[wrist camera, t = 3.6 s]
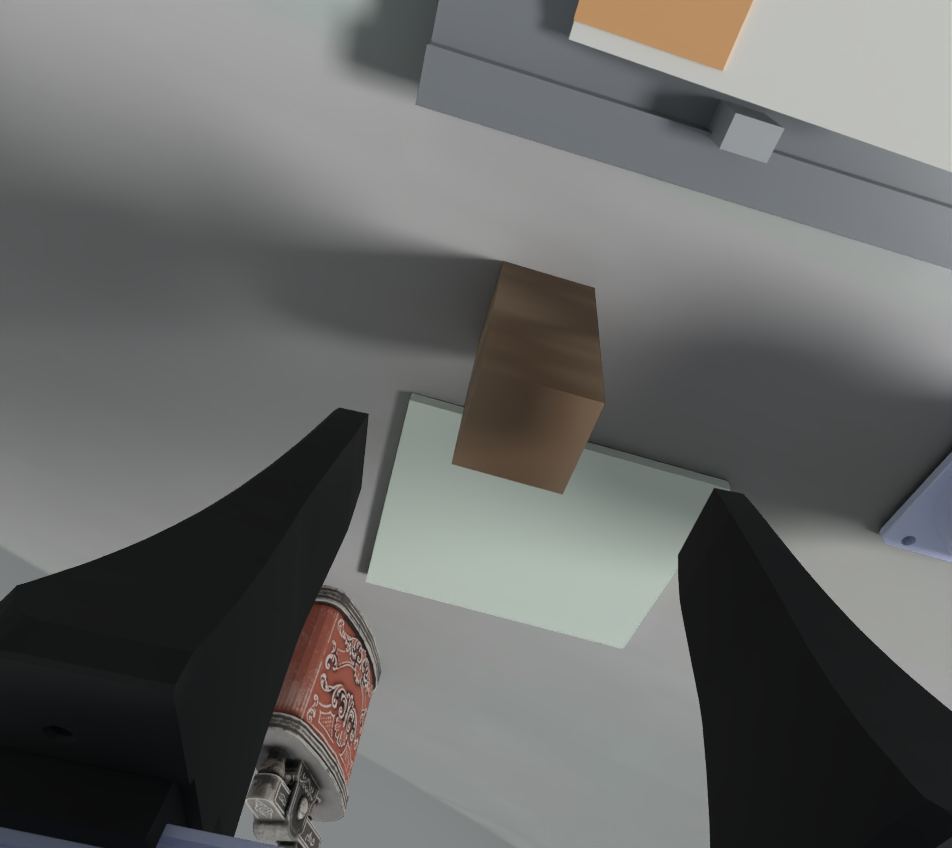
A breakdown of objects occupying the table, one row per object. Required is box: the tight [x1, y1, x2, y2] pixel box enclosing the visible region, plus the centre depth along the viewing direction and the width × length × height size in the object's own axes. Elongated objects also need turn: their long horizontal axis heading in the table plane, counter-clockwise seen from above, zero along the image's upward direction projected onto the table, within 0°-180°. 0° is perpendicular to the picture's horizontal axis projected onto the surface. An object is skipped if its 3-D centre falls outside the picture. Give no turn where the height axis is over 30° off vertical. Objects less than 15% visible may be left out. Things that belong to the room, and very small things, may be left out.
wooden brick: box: [451, 261, 605, 495], centre depth 20 cm, size 3×3×7 cm
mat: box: [366, 393, 731, 649], centre depth 28 cm, size 13×11×1 cm
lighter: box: [245, 586, 381, 848], centre depth 31 cm, size 8×3×10 cm, turn 10°
